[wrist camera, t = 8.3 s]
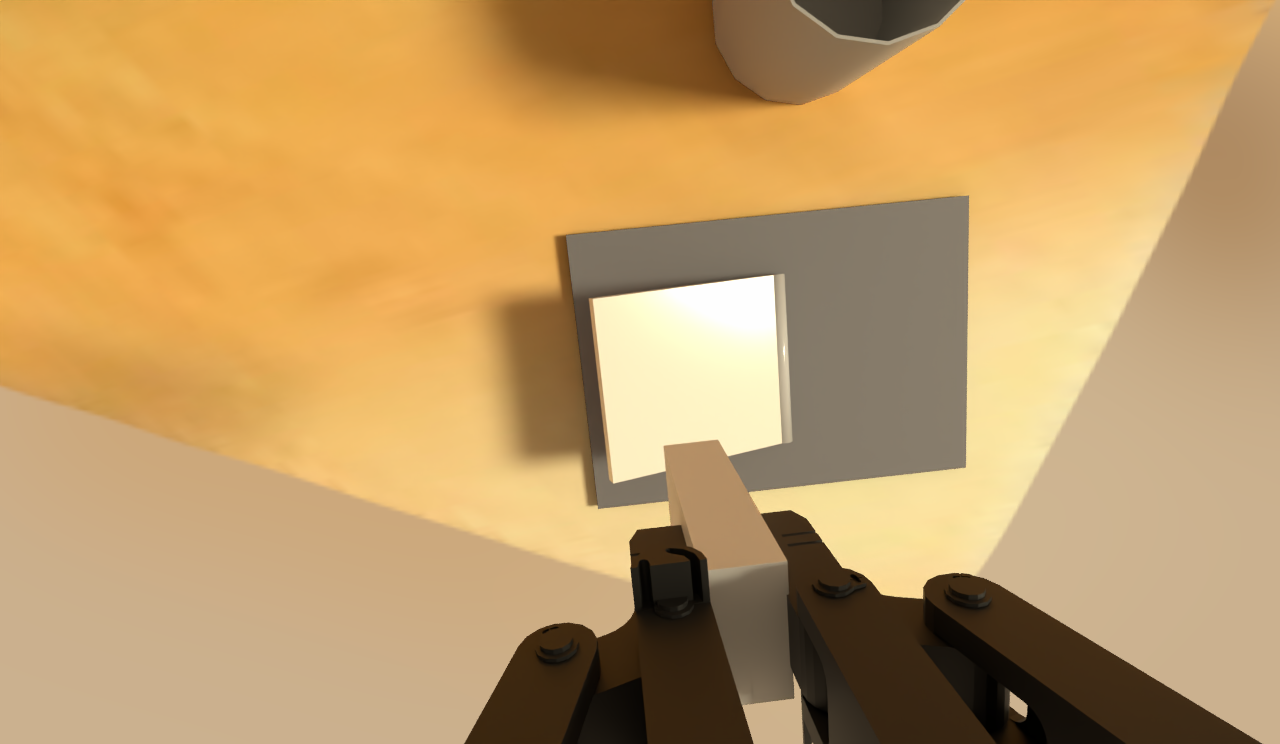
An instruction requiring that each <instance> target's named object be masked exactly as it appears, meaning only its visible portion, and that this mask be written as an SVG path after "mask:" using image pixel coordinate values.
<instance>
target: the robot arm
mask: <svg viewBox="0 0 1280 744" xmlns="http://www.w3.org/2000/svg"><path fill="white" fill-rule="evenodd" d="M663 447H664V457H665V468H666V479H667V490H668V501H669V511H670V522H671V526H666V527H658V528H649V529H641V530H637V531H636V533H635V534H634V536H633V537H632V539H631V540H630V542H629V544H630V555H631V568H630V569H631V578H632V587H633V595H634V605H635V611H634V613H633V615H632V617H631V618H630V619H629V621H628V622H627V623H626V624H625V625H623V626H622V627H620V628H619V629H617V630H616V631H614V632H611V633H609V634H607V635H604V636H602V637H599V638H596V636H595V634H594V633H593V631H592V630H590V629H588V628H587V627H585V626H583V625H580V624H573V623H561V624H553V625H550V626H546V627H544V628H541V629H539V630H537V631H535V632H534V633H532V634H530V635H529V636H527V637H526V638H525V639H524V641H523V642H522V643H521V644H520V645H519V646H518V648H517V650H516V652H515V654H514V655H513V657H512V659H511V661H510V663H509V664H508V666H507V668H506V670H505V672H504V673H503V676H502V677H501V679H500V681H499V682H498V684H497V686H496V688H495V690H494V692H493V693H492V695H491V697H490V699H489V700H488V702H487V704H486V706H485V708H484V709H483V711H482V713H481V715H480V716H479V718H478V720H477V722H476V724H475V725H474V727H473V729H472V731H471V733H470V734H469V736H468V738H467V740H466V742H465V743H464V744H753V740H752V737H751V734H750V730H749V727H748V724H747V721H746V718H745V714H744V711H743V707H742V705H747V704H754V703H762V702H770V701H778V700H785V699H793V698H794V682H793V673H794V676H795V678H796V680H797V682H798V684H799V687H800V689H801V700H802V701H801V702H802V721H803V722H802V723H803V743H804V744H812V742H813V744H1262V743H1260V742H1258V741H1257V740H1255V739H1253V738H1252V737H1250V736H1249V735H1247V734H1245V733H1244V732H1242V731H1240V730H1239V729H1237V728H1235V727H1233V726H1232V725H1230V724H1229V723H1227V722H1225V721H1224V720H1222V719H1220V718H1219V717H1217V716H1215V715H1214V714H1212V713H1210V712H1208V711H1207V710H1205V709H1204V708H1202V707H1200V706H1199V705H1197V704H1195V703H1194V702H1192V701H1190V700H1189V699H1187V698H1185V697H1184V696H1182V695H1180V694H1179V693H1177V692H1175V691H1174V690H1172V689H1171V688H1169V687H1167V686H1165V685H1164V684H1162V683H1161V682H1159V681H1157V680H1156V679H1154V678H1152V677H1151V676H1149V675H1147V674H1146V673H1144V672H1142V671H1141V670H1139V669H1137V668H1136V667H1134V666H1132V665H1131V664H1129V663H1127V662H1126V661H1124V660H1122V659H1121V658H1119V657H1117V656H1116V655H1114V654H1112V653H1111V652H1109V651H1107V650H1106V649H1104V648H1102V647H1101V646H1099V645H1097V644H1096V643H1094V642H1093V641H1091V640H1089V639H1088V638H1086V637H1084V636H1083V635H1081V634H1079V633H1078V632H1076V631H1074V630H1073V629H1071V628H1069V627H1068V626H1066V625H1064V624H1063V623H1061V622H1059V621H1058V620H1056V619H1054V618H1053V617H1051V616H1049V615H1048V614H1046V613H1044V612H1043V611H1041V610H1039V609H1037V608H1036V607H1034V606H1033V605H1031V604H1029V603H1028V602H1026V601H1024V600H1023V599H1021V598H1019V597H1018V596H1016V595H1015V594H1013V593H1011V592H1009V591H1008V590H1006V589H1005V588H1003V587H1001V586H1000V585H998V584H995V583H993V582H991V581H989V580H987V579H984V578H980V577H976V576H972V575H970V574H963V573H961V574H959V573H951V574H945V575H938V576H936V577H934V578H932V579H930V580H928V581H927V582H926V584H925V586H924V587H923V599H916V598H903V597H893V596H885V595H881V594H880V592H879V591H878V590H877V589H876V587H875V586H874V585H873V583H872V582H871V581H870V580H868V579H867V578H866V577H865V576H864V575H862V574H860V573H857V572H855V571H853V570H850V569H845V568H842V567H841V566H840V564H839V563H838V562H837V560H836V559H835V557H834V556H833V555H832V553H831V552H830V550H829V549H828V548H827V546H826V545H825V544H824V542H823V543H822V539H821V538H820V537H819V535H818V534H817V533H815V530H814V528H813V527H812V526H811V524H810V523H809V521H808V520H807V519H806V518H804V517H802V516H800V515H798V514H797V513H795V512H793V511H791V510H789V511H780V512H772V513H763V514H760V512H759V510H758V509H757V507H756V505H755V503H754V502H753V500H752V498H751V496H750V495H749V493H748V491H747V489H746V488H745V486H744V484H743V482H742V481H741V479H740V477H739V475H738V474H737V472H736V470H735V468H734V467H733V465H732V463H731V461H730V460H729V458H728V456H727V454H726V453H725V451H724V449H723V447H722V446H721V444H720V442H719V440H709V441H700V442H691V443H682V444H673V445H664V446H663ZM1010 691H1011V692H1012V693H1013V694H1015V695H1016V696H1017V697H1018V698H1020V699H1021V700H1022V701H1024V702H1025V703H1026V704H1027V705H1028V708H1027V717H1026V718H1025V717H1024V716H1022V715H1020V714H1018V713H1017V712H1016V711H1015V710H1014V709H1012V708H1011V707H1010V706H1009V702H1010Z"/></svg>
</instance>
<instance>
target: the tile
mask: <svg viewBox="0 0 1280 744" xmlns="http://www.w3.org/2000/svg"><path fill="white" fill-rule="evenodd" d="M589 304H590V313H591V322H592V331H593V340H594V348H595V357H596V366H597V375H598V384H599V393H600V401H601V410H602V419H603V428H604V437H605V446H606V454H607V463H608V472H609V480H610V481H611V482H612V483H613V484H614V483H618V482H622V481H626V480H631V479H635V478H639V477H643V476H647V475H652V474H656V473H660V472H664V471H666V468H665V457H664V447H663V446H664V445H673V444H682V443H691V442H700V441H709V440H719V442H720V444H721V446H722V447H723V449H724V451H725V453H726V454H727V456H731V455H735V454H739V453H744V452H748V451H752V450H756V449H760V448H765V447H769V446H773V445H777V444H781V443H790V442H792V441H793V438H792V417H791V397H790V376H789V355H788V335H787V314H786V293H785V274H783V273H781V274H769V275H764V276H756V277H748V278H741V279H733V280H725V281H718V282H710V283H702V284H695V285H687V286H679V287H672V288H664V289H656V290H649V291H641V292H634V293H626V294H618V295H611V296H603V297H595V298H589Z"/></svg>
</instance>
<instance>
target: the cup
mask: <svg viewBox="0 0 1280 744" xmlns="http://www.w3.org/2000/svg"><path fill="white" fill-rule="evenodd" d="M964 1H965V0H713V1H712V7H713V19H714V31H715V43H716V45H717V47H718V49H719V51H720V53H721V54H722V56H723V58H724V60H725V62H726V64H727V65H728V67H729V69H730V71H731V73H732V74H733V76H734V78H735V79H736V80H738V81H739V82H740V83H742V84H743V85H745V86H746V87H748V88H749V89H750V90H752V91H753V92H755V93H756V94H757V95H759V96H760V97H762V98H763V99H765V100H768V101H776V102H784V103H791V104H799V105H803V104H805V103H808V102H811V101H814V100H816V99H819V98H822V97H825V96H827V95H830V94H833V93H836V92H838V91H839V90H841V89H842V88H844V87H846V86H847V85H849V84H850V83H852V82H853V81H855V80H857V79H858V78H860V77H861V76H863V75H864V74H866V73H867V72H869V71H871V70H872V69H874V68H875V67H877V66H878V65H880V64H882V63H883V62H885V61H886V60H888V59H889V58H891V57H892V56H894V55H896V54H897V53H899V52H900V51H902V50H903V49H905V48H907V47H908V46H910V45H911V44H913V43H914V42H916V41H917V40H919V39H921V38H922V37H924V36H925V35H927V34H928V33H930V32H932V31H933V30H935V29H936V28H938V27H939V26H940V25H941V24H942V23H943V22H944V21H945V20H946V19H947V18H948V17H949V16H950V15H951V14H952V13H953V12H954V11H955V10H956V9H957V8H958V7H959V6H960V5H961V4H962V3H963V2H964Z"/></svg>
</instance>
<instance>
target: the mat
mask: <svg viewBox="0 0 1280 744" xmlns="http://www.w3.org/2000/svg"><path fill="white" fill-rule="evenodd" d="M968 235H969V196H960V197H950V198H939V199H929V200H919V201H909V202H899V203H889V204H878V205H868V206H858V207H848V208H838V209H828V210H817V211H807V212H797V213H787V214H777V215H767V216H756V217H746V218H736V219H726V220H716V221H706V222H695V223H685V224H675V225H665V226H655V227H645V228H634V229H624V230H614V231H604V232H594V233H584V234H573V235H566V241H567V249H568V257H569V266H570V274H571V283H572V291H573V300H574V308H575V317H576V325H577V333H578V342H579V350H580V359H581V367H582V376H583V384H584V392H585V401H586V409H587V418H588V426H589V435H590V443H591V452H592V460H593V468H594V477H595V485H596V494H597V502H598V509H601V508H610V507H619V506H628V505H637V504H646V503H655V502H663V501H668V490H667V479H666V471H664V472H660V473H656V474H652V475H647V476H643V477H639V478H635V479H631V480H626V481H622V482H618V483H614V484H613V483H612V482H611V481H610V480H609V472H608V463H607V454H606V446H605V437H604V428H603V419H602V410H601V401H600V393H599V384H598V375H597V366H596V357H595V348H594V340H593V331H592V322H591V313H590V304H589V298H595V297H603V296H611V295H618V294H626V293H634V292H641V291H649V290H656V289H664V288H672V287H679V286H687V285H695V284H702V283H710V282H718V281H725V280H733V279H741V278H748V277H756V276H764V275H769V274H781V273H783V274H785V293H786V314H787V335H788V355H789V376H790V397H791V417H792V438H793V441H792V442H790V443H781V444H777V445H773V446H769V447H765V448H760V449H756V450H752V451H748V452H744V453H739V454H735V455H731V456H728V458H729V460H730V461H731V463H732V465H733V467H734V468H735V470H736V472H737V474H738V475H739V477H740V479H741V481H742V482H743V484H744V486H745V488H746V489H747V491H748V492H752V491H761V490H770V489H779V488H788V487H797V486H805V485H814V484H823V483H832V482H841V481H850V480H859V479H868V478H876V477H885V476H894V475H903V474H912V473H921V472H930V471H939V470H947V469H956V468H965V467H966V407H967V321H968Z"/></svg>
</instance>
